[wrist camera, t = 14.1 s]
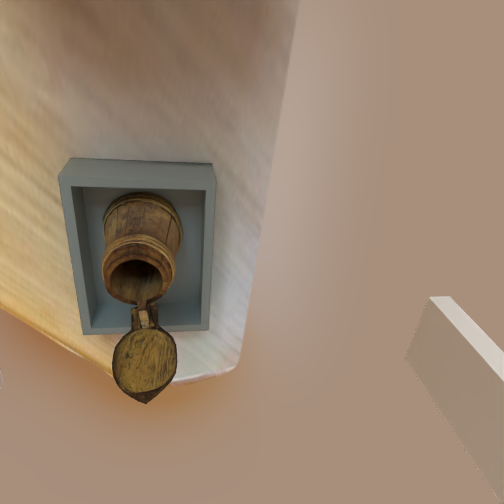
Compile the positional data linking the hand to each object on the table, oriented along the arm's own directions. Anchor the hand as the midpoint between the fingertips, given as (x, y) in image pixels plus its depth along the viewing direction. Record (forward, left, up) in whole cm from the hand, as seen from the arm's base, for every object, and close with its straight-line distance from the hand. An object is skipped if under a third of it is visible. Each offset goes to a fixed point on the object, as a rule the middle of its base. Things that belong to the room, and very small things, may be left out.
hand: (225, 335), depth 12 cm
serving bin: (+16, -5, -35) cm, 39 cm away
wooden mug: (+16, -5, -34) cm, 38 cm away
